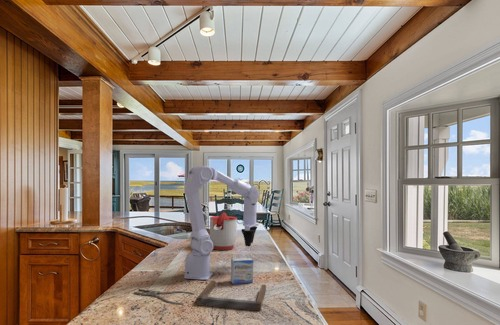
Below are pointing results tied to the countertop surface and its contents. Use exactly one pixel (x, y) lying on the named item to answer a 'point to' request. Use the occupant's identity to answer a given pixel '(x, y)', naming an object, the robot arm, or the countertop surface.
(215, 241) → the citrus juicer
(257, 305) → the bay
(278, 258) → the countertop surface
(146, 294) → the pliers
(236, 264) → the medicine box
